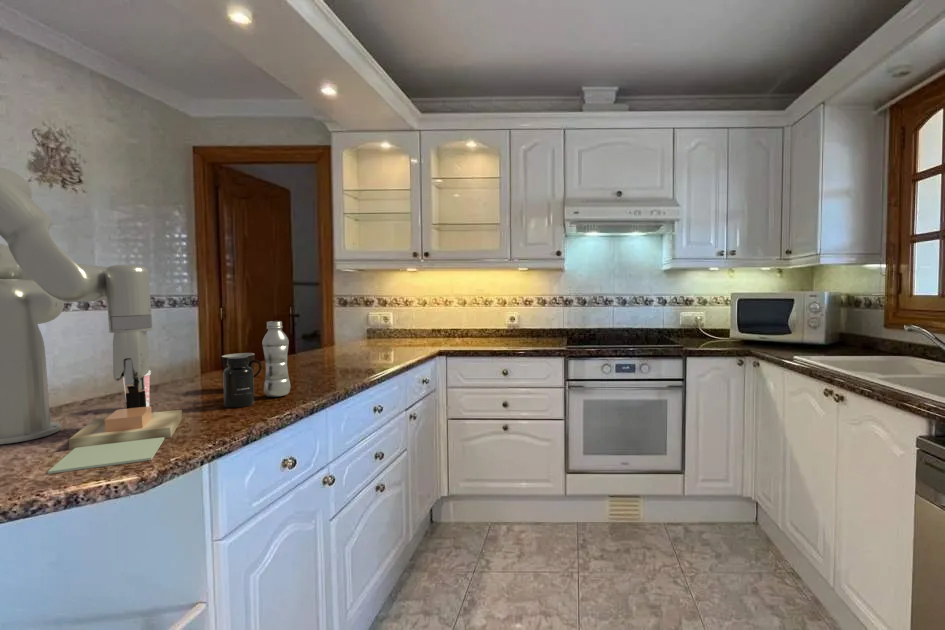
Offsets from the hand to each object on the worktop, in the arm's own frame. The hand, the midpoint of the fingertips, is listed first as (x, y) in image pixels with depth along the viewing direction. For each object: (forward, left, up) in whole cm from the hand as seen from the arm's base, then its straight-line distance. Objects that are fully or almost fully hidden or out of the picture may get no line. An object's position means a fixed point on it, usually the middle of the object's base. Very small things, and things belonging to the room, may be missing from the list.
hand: (136, 410), depth 106 cm
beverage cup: (-4, +20, -4) cm, 21 cm away
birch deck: (0, -5, -4) cm, 6 cm away
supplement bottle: (+19, +11, -4) cm, 23 cm away
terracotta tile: (0, -6, -2) cm, 6 cm away
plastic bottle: (+28, +17, -4) cm, 33 cm away
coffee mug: (+19, +31, -4) cm, 37 cm away
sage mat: (0, -20, -4) cm, 20 cm away
